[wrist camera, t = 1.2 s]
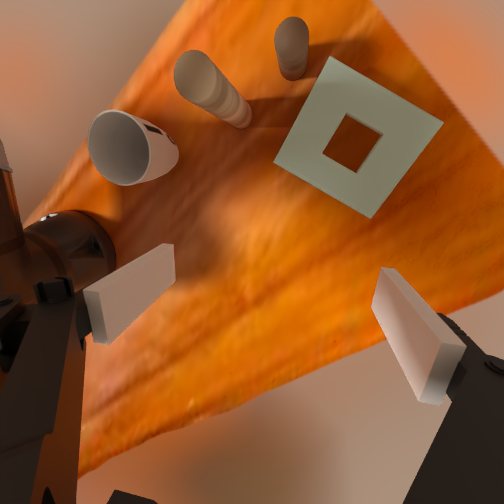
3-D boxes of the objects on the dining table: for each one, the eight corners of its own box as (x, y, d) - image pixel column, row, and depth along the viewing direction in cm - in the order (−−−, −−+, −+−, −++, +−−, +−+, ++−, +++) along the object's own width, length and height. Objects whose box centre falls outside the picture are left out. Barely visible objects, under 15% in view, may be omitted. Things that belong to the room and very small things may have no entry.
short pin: (274, 72, 32) (268, 48, 25) (288, 42, 30) (285, 9, 24) (297, 85, 32) (297, 65, 25) (312, 56, 30) (315, 27, 24)
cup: (194, 135, 36) (157, 125, 27) (181, 188, 39) (144, 195, 30) (144, 115, 36) (90, 98, 27) (135, 169, 39) (84, 171, 30)
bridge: (276, 162, 35) (273, 162, 30) (325, 72, 31) (329, 55, 26) (361, 211, 35) (370, 219, 31) (422, 128, 31) (444, 122, 26)
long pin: (224, 121, 35) (167, 88, 20) (235, 96, 33) (183, 40, 18) (245, 133, 35) (204, 110, 20) (257, 108, 33) (222, 63, 18)
